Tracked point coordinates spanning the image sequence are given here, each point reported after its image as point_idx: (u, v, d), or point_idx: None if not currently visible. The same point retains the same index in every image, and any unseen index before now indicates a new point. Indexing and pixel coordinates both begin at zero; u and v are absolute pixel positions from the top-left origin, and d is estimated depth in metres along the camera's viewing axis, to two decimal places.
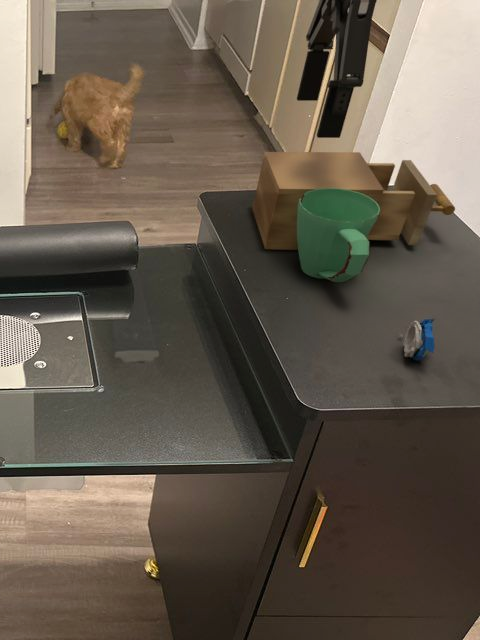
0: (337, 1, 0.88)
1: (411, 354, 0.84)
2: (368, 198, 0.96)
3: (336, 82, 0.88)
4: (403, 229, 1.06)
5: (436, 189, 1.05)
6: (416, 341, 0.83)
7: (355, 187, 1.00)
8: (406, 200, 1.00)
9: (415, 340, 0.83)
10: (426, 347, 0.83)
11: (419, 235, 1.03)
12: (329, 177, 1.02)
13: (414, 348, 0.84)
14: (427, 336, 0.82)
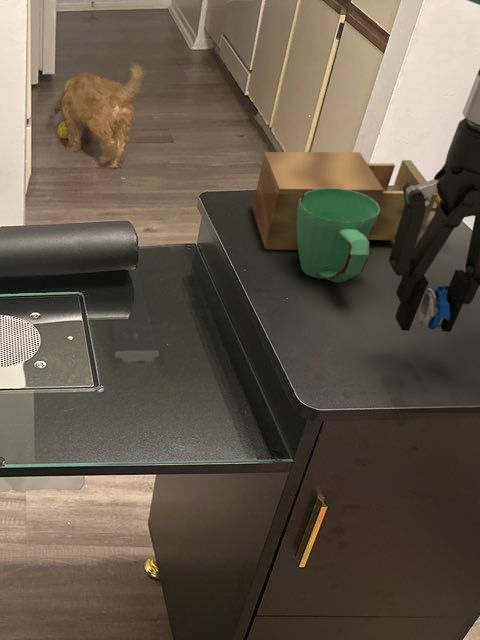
0: None
1: (426, 323, 0.81)
2: (368, 198, 0.96)
3: None
4: None
5: None
6: (430, 309, 0.80)
7: (355, 187, 1.00)
8: None
9: (429, 308, 0.80)
10: (441, 315, 0.80)
11: (419, 235, 1.03)
12: (329, 177, 1.02)
13: (429, 316, 0.81)
14: (442, 303, 0.80)
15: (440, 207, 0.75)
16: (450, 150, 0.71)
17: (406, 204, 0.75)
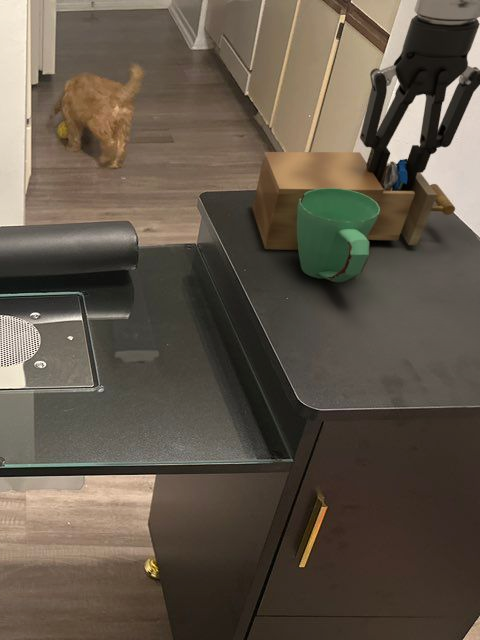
0: None
1: (389, 188, 1.03)
2: (368, 198, 0.96)
3: (434, 148, 0.99)
4: (403, 229, 1.06)
5: (436, 189, 1.05)
6: (392, 176, 1.02)
7: (355, 187, 1.00)
8: (406, 200, 1.00)
9: (392, 175, 1.02)
10: (401, 180, 1.01)
11: (419, 235, 1.03)
12: (329, 177, 1.02)
13: (391, 182, 1.02)
14: (401, 170, 1.01)
15: (398, 89, 0.97)
16: (405, 40, 0.93)
17: (373, 87, 0.97)
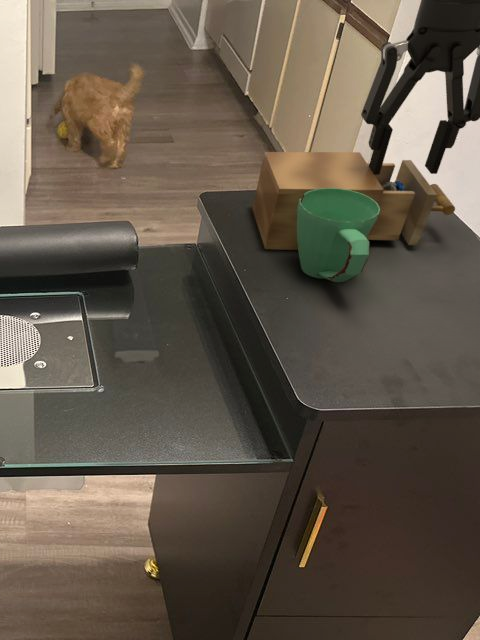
0: None
1: None
2: (368, 198, 0.96)
3: (463, 122, 0.96)
4: (403, 229, 1.06)
5: (436, 189, 1.05)
6: None
7: (355, 187, 1.00)
8: (407, 200, 1.00)
9: None
10: None
11: (419, 235, 1.03)
12: (329, 177, 1.02)
13: None
14: (402, 188, 1.04)
15: (408, 65, 0.95)
16: (417, 16, 0.91)
17: (382, 61, 0.95)
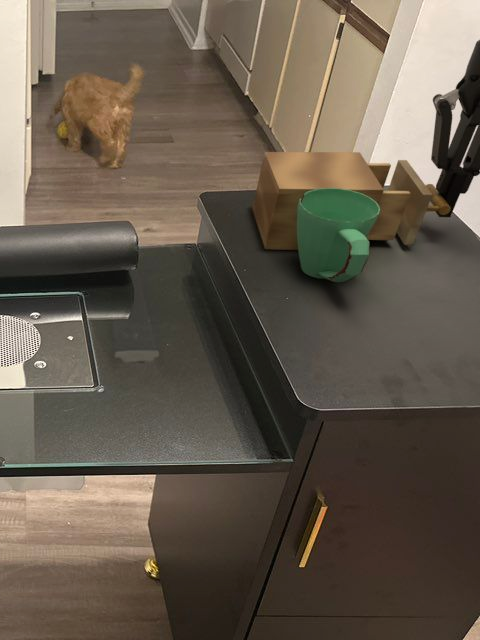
0: None
1: None
2: (368, 198, 0.96)
3: None
4: (399, 229, 1.06)
5: (432, 189, 1.05)
6: None
7: (355, 187, 1.00)
8: (402, 200, 1.00)
9: None
10: None
11: (415, 235, 1.03)
12: (329, 177, 1.02)
13: None
14: None
15: (463, 112, 0.98)
16: (469, 63, 0.93)
17: (437, 112, 0.98)
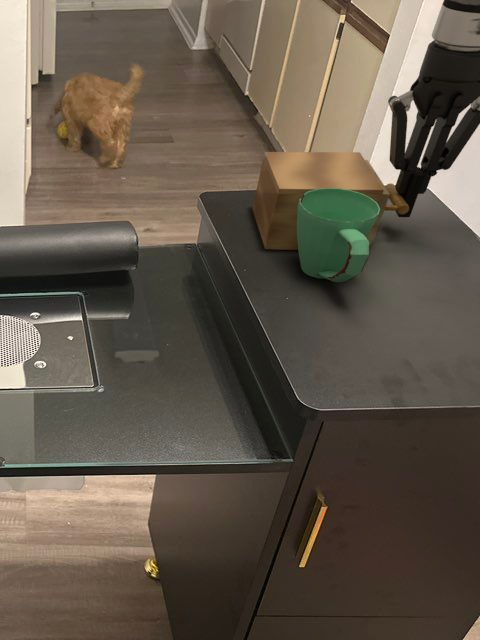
0: (463, 102, 0.94)
1: None
2: (368, 198, 0.96)
3: (434, 171, 1.01)
4: None
5: (392, 188, 1.06)
6: None
7: (355, 187, 1.00)
8: None
9: None
10: None
11: (374, 234, 1.03)
12: (329, 177, 1.02)
13: None
14: None
15: (419, 113, 0.99)
16: (422, 65, 0.94)
17: (393, 113, 0.99)
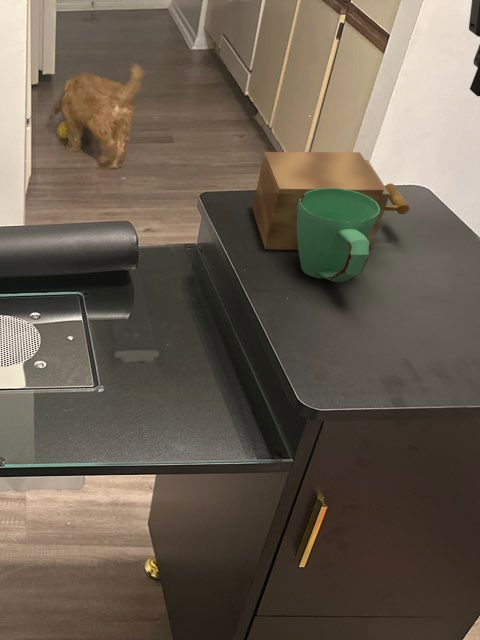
0: None
1: None
2: (368, 198, 0.96)
3: None
4: None
5: (392, 188, 1.06)
6: None
7: (355, 187, 1.00)
8: None
9: None
10: None
11: (374, 234, 1.03)
12: (329, 177, 1.02)
13: None
14: None
15: None
16: None
17: None
